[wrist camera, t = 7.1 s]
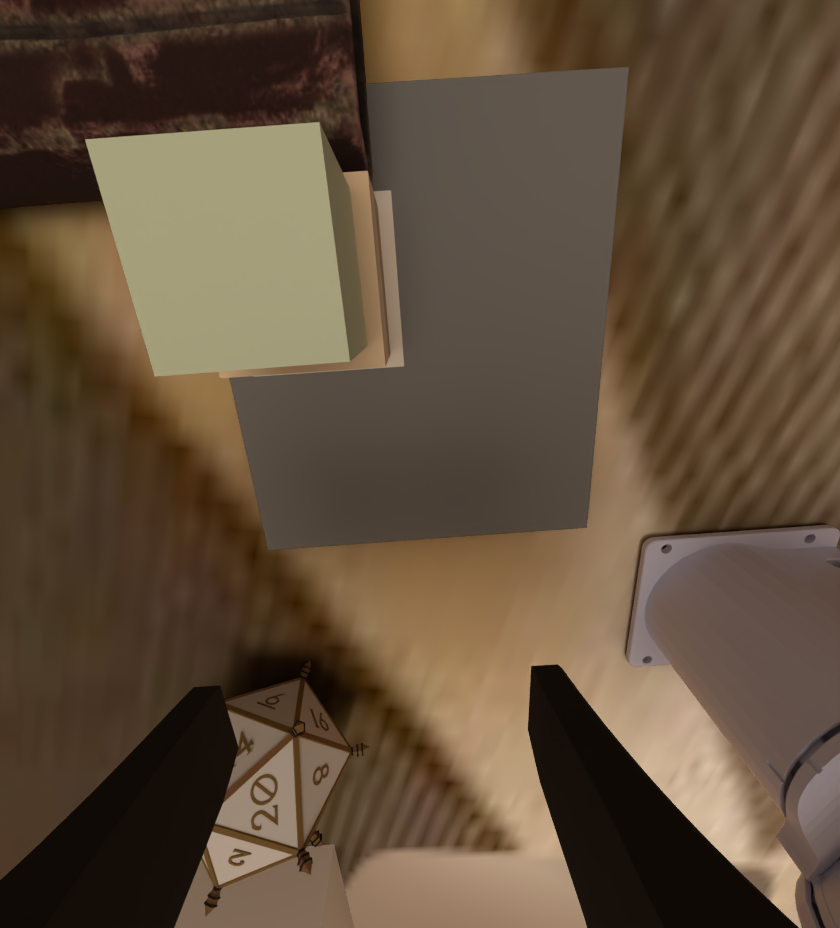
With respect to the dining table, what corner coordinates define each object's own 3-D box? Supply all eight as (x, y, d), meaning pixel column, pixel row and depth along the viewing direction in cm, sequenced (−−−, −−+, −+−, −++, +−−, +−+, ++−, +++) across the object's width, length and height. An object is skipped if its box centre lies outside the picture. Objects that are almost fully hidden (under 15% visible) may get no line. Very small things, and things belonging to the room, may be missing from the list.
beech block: (377, 207, 14) (367, 170, 11) (390, 354, 16) (385, 367, 12) (235, 216, 14) (174, 183, 11) (263, 362, 16) (220, 378, 12)
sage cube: (349, 188, 11) (319, 122, 7) (367, 346, 12) (350, 362, 8) (197, 199, 11) (85, 139, 7) (232, 356, 12) (154, 376, 8)
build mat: (619, 76, 14) (630, 65, 13) (581, 521, 20) (587, 528, 19) (175, 105, 14) (164, 95, 13) (272, 543, 20) (267, 551, 19)
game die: (276, 632, 26) (127, 675, 17) (399, 667, 24) (304, 741, 14) (243, 786, 25) (59, 927, 15) (370, 842, 22) (242, 1053, 13)
